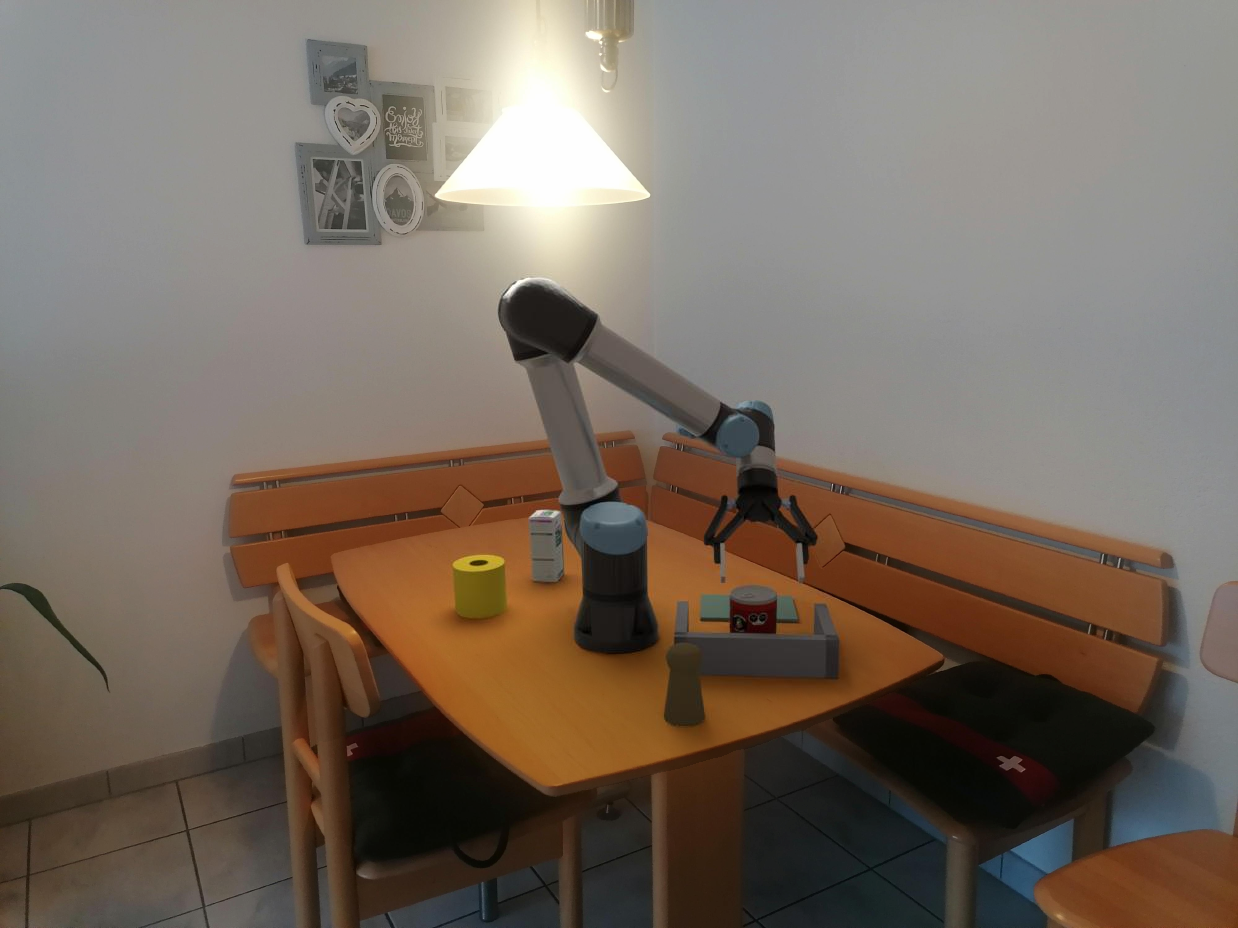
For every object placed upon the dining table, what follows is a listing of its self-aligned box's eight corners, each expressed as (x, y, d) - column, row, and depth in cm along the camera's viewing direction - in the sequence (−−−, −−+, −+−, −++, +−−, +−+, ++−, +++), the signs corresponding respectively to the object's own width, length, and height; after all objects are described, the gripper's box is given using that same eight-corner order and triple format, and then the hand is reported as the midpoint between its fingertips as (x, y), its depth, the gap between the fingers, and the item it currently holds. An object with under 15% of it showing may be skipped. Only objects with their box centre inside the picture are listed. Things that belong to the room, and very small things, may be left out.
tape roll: (498, 595, 174) (496, 552, 172) (513, 612, 165) (510, 566, 163) (450, 604, 170) (447, 559, 168) (462, 621, 161) (459, 574, 159)
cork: (681, 731, 120) (681, 659, 118) (655, 714, 125) (654, 645, 123) (713, 718, 124) (713, 647, 122) (686, 702, 129) (686, 634, 126)
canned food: (720, 654, 145) (720, 593, 142) (748, 640, 150) (749, 581, 148) (756, 668, 139) (757, 605, 137) (785, 652, 145) (786, 591, 143)
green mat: (700, 620, 159) (700, 617, 159) (700, 596, 171) (700, 594, 171) (797, 622, 158) (797, 619, 157) (791, 598, 169) (791, 595, 169)
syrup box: (557, 582, 181) (555, 517, 178) (531, 581, 182) (528, 516, 179) (564, 573, 186) (562, 509, 183) (538, 572, 188) (535, 509, 184)
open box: (674, 674, 138) (674, 636, 137) (677, 635, 153) (677, 601, 152) (838, 678, 135) (839, 640, 134) (825, 638, 150) (826, 603, 149)
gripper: (821, 485, 163) (831, 588, 152) (690, 486, 165) (691, 587, 154) (826, 465, 156) (837, 571, 145) (690, 466, 158) (690, 570, 147)
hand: (762, 580), depth 149 cm, fingers open, 13 cm apart
